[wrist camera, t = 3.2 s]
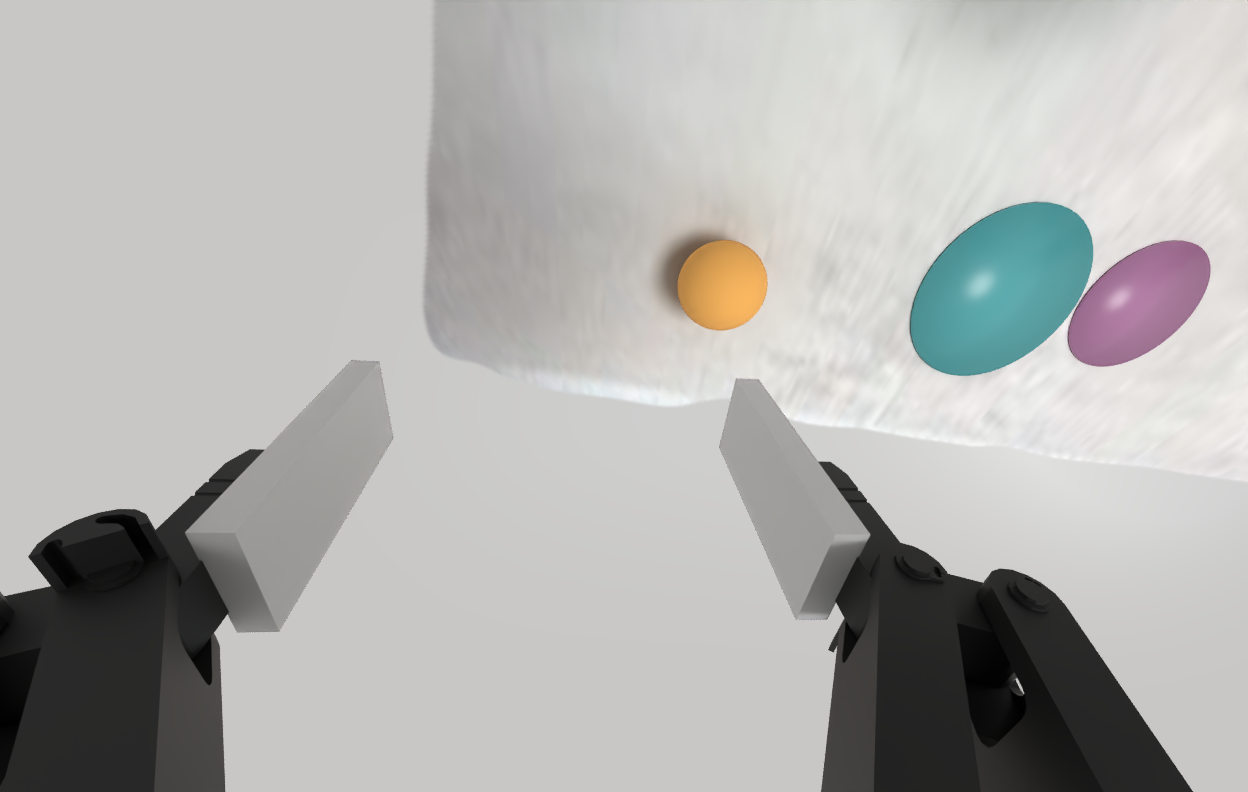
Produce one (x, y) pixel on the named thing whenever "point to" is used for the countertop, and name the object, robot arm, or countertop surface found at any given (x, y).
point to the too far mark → (1139, 303)
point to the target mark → (1001, 288)
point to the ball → (722, 285)
